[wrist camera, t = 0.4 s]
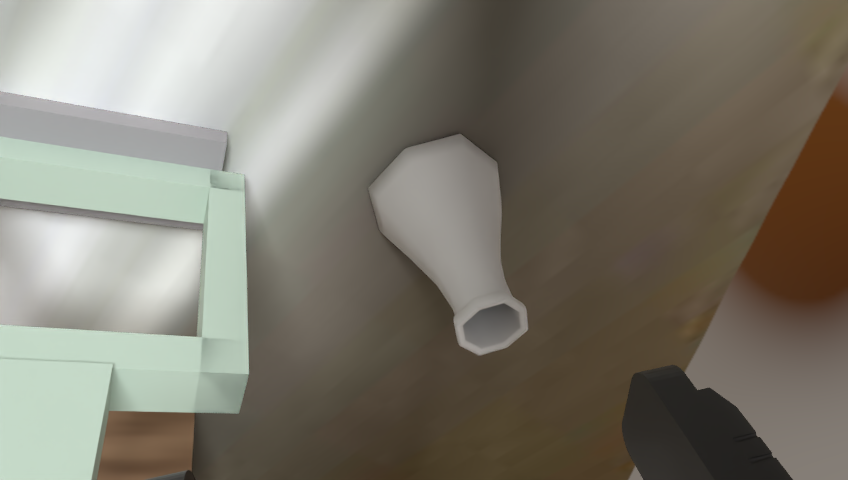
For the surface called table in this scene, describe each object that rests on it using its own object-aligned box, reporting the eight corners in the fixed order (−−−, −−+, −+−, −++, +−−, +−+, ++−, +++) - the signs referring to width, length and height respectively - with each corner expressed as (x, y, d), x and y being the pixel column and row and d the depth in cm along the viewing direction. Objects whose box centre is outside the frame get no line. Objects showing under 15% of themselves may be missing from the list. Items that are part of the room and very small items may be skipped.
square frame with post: (-62, 80, 25) (-450, 555, 11) (249, 135, 30) (264, 525, 15) (-52, 185, 28) (-353, 677, 14) (232, 221, 32) (231, 621, 18)
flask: (409, 267, 37) (454, 407, 30) (342, 181, 33) (375, 322, 25) (520, 204, 36) (596, 333, 29) (467, 107, 32) (540, 231, 24)
